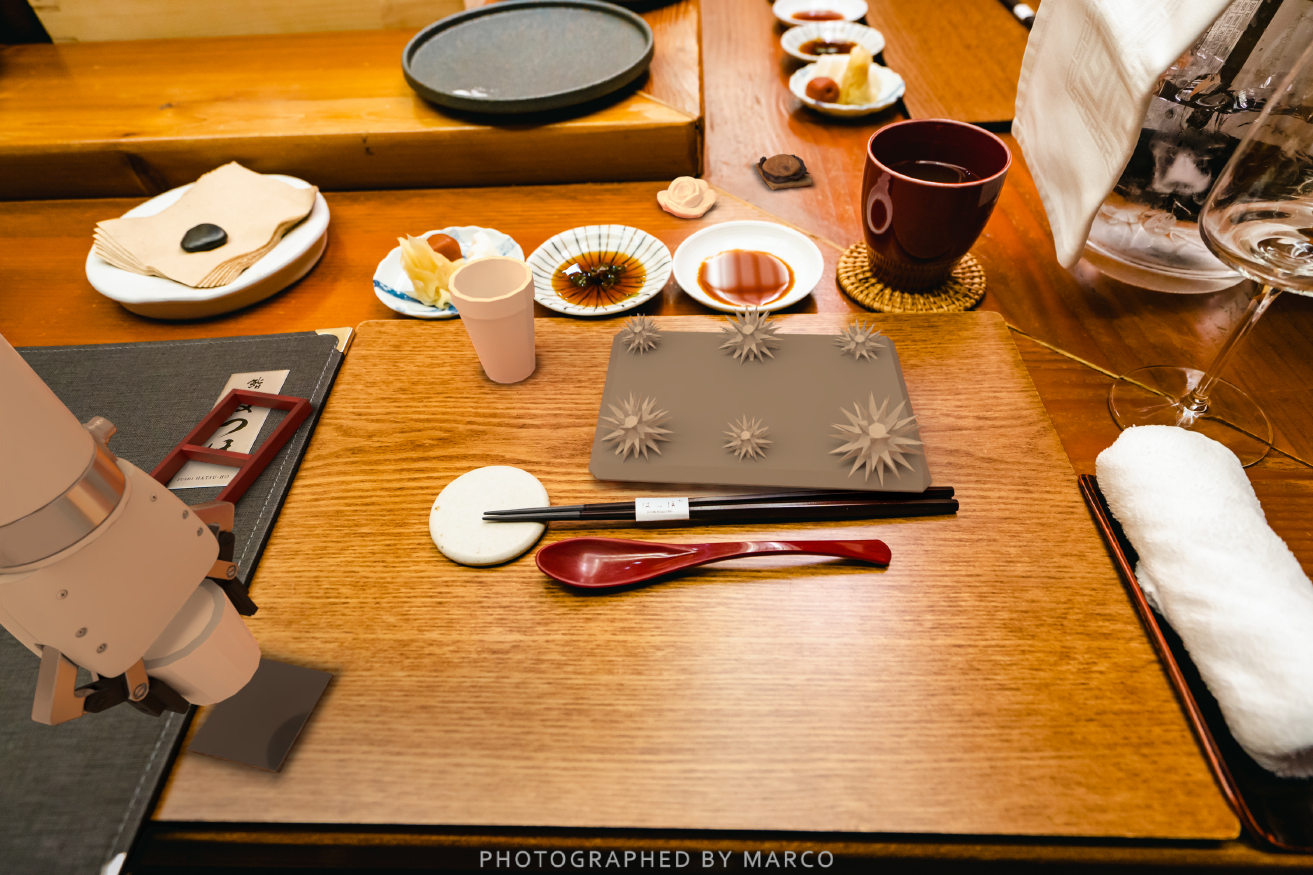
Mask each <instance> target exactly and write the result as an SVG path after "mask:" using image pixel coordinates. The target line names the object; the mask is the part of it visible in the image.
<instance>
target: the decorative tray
mask: <svg viewBox="0 0 1313 875" xmlns="http://www.w3.org/2000/svg"><path fill="white" fill-rule="evenodd" d="M733 309H734V312H735V314H736V318H737V321H738V322H737V321H735V320H734V319H732V318H730V317H729V316H727V315H726V314H724V316H725V318H726V320H727V321H728V322H729V323H730V324H731V326H732V327H733V328H731V327H725V326H720V325H718V327H719V328H721V329H722V330H721V331H685V330H684V331H681V330H674V331H673V330H661V327H660V324H658V325H656V324H657V323H658V321H656V322H654V320H655V318H653V315H654V314H653V315H651V316H650V317H647V318H645V314H643V315H642V316H641V315H640V314H637V317H636V318H637V319H635V318H633V317H632V315H629V317H630V320H631V323H632V324H631V323H630V322H628V321H627V320H624V322H625V324H626V327H621V326H619V329H621V330H620V331H619V332H617V333H616V334H614V336H613V339H612V345H611V349H610V354H609V361H608V365H607V370H606V375H605V379H604V380H605V381H604V386H603V391H602V396H601V402H600V406H599V411H598V417H597V422H596V426H595V432H594V436H593V437H594V438H593V444H592V446H591V447H592V448H591V453H590V458H589V463H588V468H587V469H588V472H589V473H590V474H591V475H592V476H593V477H594V478H595V479H596V480H597V481H611V482H612V481H614V482H635V483H636V482H637V483H639V482H641V483H663V484H664V483H666V484H688V485H689V484H690V485H691V484H692V485H718V486H719V485H720V486H741V487H742V486H745V487H746V486H747V487H748V486H749V487H770V488H771V487H772V488H794V489H795V488H796V489H819V490H820V489H824V490H848V491H849V490H850V491H851V490H852V491H872V492H873V491H875V492H876V491H877V492H903V493H924V491H925V490H927V488H928V487H930V486H931V485H932V484H933V479H932V475H931V471H930V468H929V464H928V461H927V460H928V459H927V457H926V453H925V450H924V446H923V445H928V443H927V442H924V441H922V438H921V435H920V431H919V428H921V427H923V426H924V424H921V425H918V423H917V420H916V418H917V417H918V416H919V415H920V413H917V414H916V415H915V413H914V409H913V406H912V402H911V399H910V395H909V392H908V387H907V383H906V381H905V377H904V373H903V370H902V366H901V362H900V359H899V355H898V352H897V347H896V343H895V342H894V341H893V340H892V339H891V338H890V337H889V336H888V335H881V332H882V331H883V329H881V330H878V331H876V332H873V333H872V331H873V328H874V326H875V325H876V322H874V323H873V324H872V325H871V326H870V327H869V328H868V329H867V321H868V320H867V319H868V318H866V319H865V320H864V323H863V325H862V327H861V329H860V325H859V322H858V318H856V317H855V318H856V319H855V324H854V325H851V323H850V322H849V321H847V324H848V326H846V329H847V330H848V331H846V330H845V329H843V328H841V327H840V326H838V329H839V332H840V333H841V334H824V333H823V334H821V333H819V334H818V333H817V334H816V333H777V332H776V331H777V330H779V329H782V326H778V327H774V326H775V325H777V324H778V322H775V321H776V320H777V319H778V317H776V318H773V319H772V320H770V321H767V319H768V317H769V315H770V313H771V312H770V311H769V309H770V308H768V309H767V310H766V311H765V312H764V313H763V315H762V316H760V318H759V314H760V311H758V305H756V307H755V309H754V310H753V309H752V311H751V313H750V312H749V307H748V306H747V304H745V313H744V315H745V316H744V317H743V316H742V314H741V313H740V312H739V311H738V310H737V308H735V307H734V308H733ZM766 321H767V322H766ZM653 322H654V323H653ZM774 322H775V323H774ZM627 327H628V328H627ZM866 329H867V330H866ZM775 332H776V333H775Z"/></svg>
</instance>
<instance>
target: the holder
mask: <svg viewBox="0 0 1313 875" xmlns="http://www.w3.org/2000/svg"><path fill="white" fill-rule="evenodd" d="M241 405H247V406H254V407H260V408H267V409H275V410H279V411H287V412H288V414H287V415H286V416H285V417H284V418H283V420H281V422H280V423H279V424H278V425H277V426H276V428H275V429H274V430H273V431H272V432H271V434H270V435H269V436H268V437H267V438H266V439H265V440H264V442H263V443H262V444H261V445H260V446H259V447H258V449H256V451H255V452H254V453H253V454H252V453H247V452H246V453H245V452H238V451H233V450H227V449H221V448H213V447H208V446H203V445H204V444H205V443H206V442H207V441H208V440H209V439H210V438H211V437H212V436H213V434H215V432H216V431H218V429H219V428H220V427H221V426H222V425H223V424H224V423H225V422H226V421H227V420H228V419H229V418H230V417H231V416H232V415H233V413H235V412H236V410H238V408H239V407H240V406H241ZM313 411H314V408H313V406H312V404H311V403H310V401H309V398H304V397H297V396H291V395H286V394H285V395H284V394H276V393H270V392H263V391H257V390H251V389H250V390H249V389H243V388H242V389H241V388H235V387H234V388H232V389H231V390H230V391H229V392H228V393H227V394H226V395H225V396H224V397H223V398H222V399H221V400H220V401H219V402H218V403H217V404H216V405H215V406H214V407H213V408H212V409H211V410H210V411H209V412H208V413H207V414H206V415H205V416H204V417H203V418H202V420H200V421H199V423H197V424H196V426H194V428H193V429H191V431H189V432H188V434H187V435H186V436H184V438H183V439H182V440H181V441H180V442H179V443H178V444H177V445H176V446H175V447H174V448H173V449H172V450H171V451H170V452H169V453H168V454H167V455H166V456H165V457H164V458H163V459H162V460H161V461H160V462H159V463H158V464H157V465H156V467H154V468H153V469H152V470H151V472H149V474H148V475H150V476H151V477H152V478H154V479H155V480H156V481H158V482H159V483H160V484H162V485H163V486H164V487H165V485H167V483H168V482H169V481H170V480H171V479H173V477H175V475H176V474H177V473H178V472H179V471H180V470H181V469H182V467H183V466H184V465H185V464H186V463H187V462H188V461H189V460H191V461H197V462H202V463H208V464H214V465H220V466H227V467H231V468H240V469H239V471H238V472H237V473H236V474H235V476H233V478H232V479H231V480H230V481H229V482H228V484H226V486H225V487H224V488H223V489H222V491H220V493H219V494H218V495H217V496H216V497H215V498H214V500H219V501H224V502H230V503H233V504H234V506H235V505H236V504H237V503H238V501H239V500H240V499H241V498H242V496H244V495H245V493H246V492H247V491H248V489H249V488H250V487H251V486H252V484H254V482H255V481H256V479H257V478H258V477H259V476H260V475H261V473H263V471H264V470H265V469H266V468H267V466H268V465H269V464H270V463H271V462H272V460H273V459H274V458H275V457H276V455H277V454H278V453H280V451H281V450H282V448H284V446H285V444H287V443H288V441H289V440H290V439H291V437H292V436H293V435H294V434H295V432H297V430H299V428H300V426H301V425H302V424H303V423H304V422H305V421H306V420H307V418H308V417H309V416H310V415H311V414H312V412H313Z"/></svg>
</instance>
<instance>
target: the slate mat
mask: <svg viewBox="0 0 1313 875" xmlns="http://www.w3.org/2000/svg"><path fill="white" fill-rule="evenodd" d="M334 676H335V675H334V673H332V672H327V671H323V670H318V669H313V668H309V667H306V666H305V667H304V666H300V665H295V664H290V663H286V662H281V661H277V660H271V659H268V658H263V657H260V661H259V665H258V668H257V670H256V671H255V673H254V675H253V676H252V678H251V679H250V681H249V682H248V683H247V684H246V685H245V686H244V687H243V688H241V689H240V690H239V691H238V692H237V693H236V694H234V695H233V696H231V697H229V698H227V699H225V700H223V701H221V702H219V703H216V705H215V706H214V708H213V709H212V711H211V712H210V714H209V715H208V717H207V718H206V720H205V721H204V722H203V724H202V725H201V727H200V729H198V732H197V733H196V734H195V736H194V738H193V739H192V740H191V742H190V743H189V745H187V747H186V750H187V751H189V752H191V753H196V754H201V755H204V756H207V757H212V758H215V759H220V760H225V761H229V762H233V763H236V764H240V765H244V766H249V767H252V768H256V769H260V770H264V771H269V772H272V773H276V774H278V773H280V770H281V769H282V767H283V765H284V764H285V762H286V760H287V759H288V757H289V755H290V753H291V752H292V750H293V749H294V747H295V745H296V743H297V741H298V739H300V736H301V734H302V732H303V731H304V729H305V727H306V726H307V724H308V722H309V720H310V718H311V717H312V715H313V714H314V711H315V710H316V708H317V707H318V705H319V703H320V701H321V699H322V698H323V696H324V694H325V693H326V690H327V689H328V687H329V685H330V684H331V682H332V680H333V678H334Z"/></svg>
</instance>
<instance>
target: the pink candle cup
mask: <svg viewBox="0 0 1313 875" xmlns="http://www.w3.org/2000/svg"><path fill="white" fill-rule="evenodd" d="M241 616H242V615H239V613H238V612H237V610H236V609H235V607H234V606H233V604H232V603H231V601H230V600H229V598H228V597H227V595H226V594H225V592H224V591H223V589H222V588H221V587H219V586H218V585H217V584H216V583H214V582H213V581H212V580H210V579H203V580H202V582H201V583H200V584H199V586H198V587H197V588H196V590H195V591H194V592H193V593H192V595H191V596H190V597H189V599H188V600H187V601H186V602H185V604H184V605H183V606H182V608H181V609H180V610H179V611H178V613H177V614H176V615H175V616H174V618H173V619H172V620H171V621H170V623H169V624H168V625H167V626H166V628H165V629H164V630H163V632H162V633H161V634H160V635H159V636H158V638H157V639H156V640H155V641H154V643H153V644H152V645H151V646H150V648H149V649H148V650H147V651H146V652H145V653H144V655H143V659H144V664H145V668H146V672H147V677H151V678H155V679H159V680H162V681H163V682H165V683H166V684H167V685H168V686H170V687H171V688H172V689H173V690H175V691H176V692H177V693H178V694H180V695H181V696H182V697H183V698H185V699H186V700H187V701H189V702H190V704H193V705H195V706H196V705H197V706H202V707H203V706H209V705H214V704H217V703H219V702H221V701H223V700H225V699H227V698H229V697H231V696H233V695H234V694H236V693H237V692H238V691H239V690H240V689H241V688H243V687H244V686H245V685H246V684H247V683H248V682H249V681H250V679H251V678H252V676H253V675H254V673H255V671H256V670H257V668H258V665H259V661H260V658H261V656H262V652H261V648H260V645H259V642H258V640H257V639H256V637H255V636H254V634H253V632H252V631H251V630H250V628H249V626H248V625H247V624H246V622H245V621H244V619H243V618H242V617H241Z"/></svg>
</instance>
